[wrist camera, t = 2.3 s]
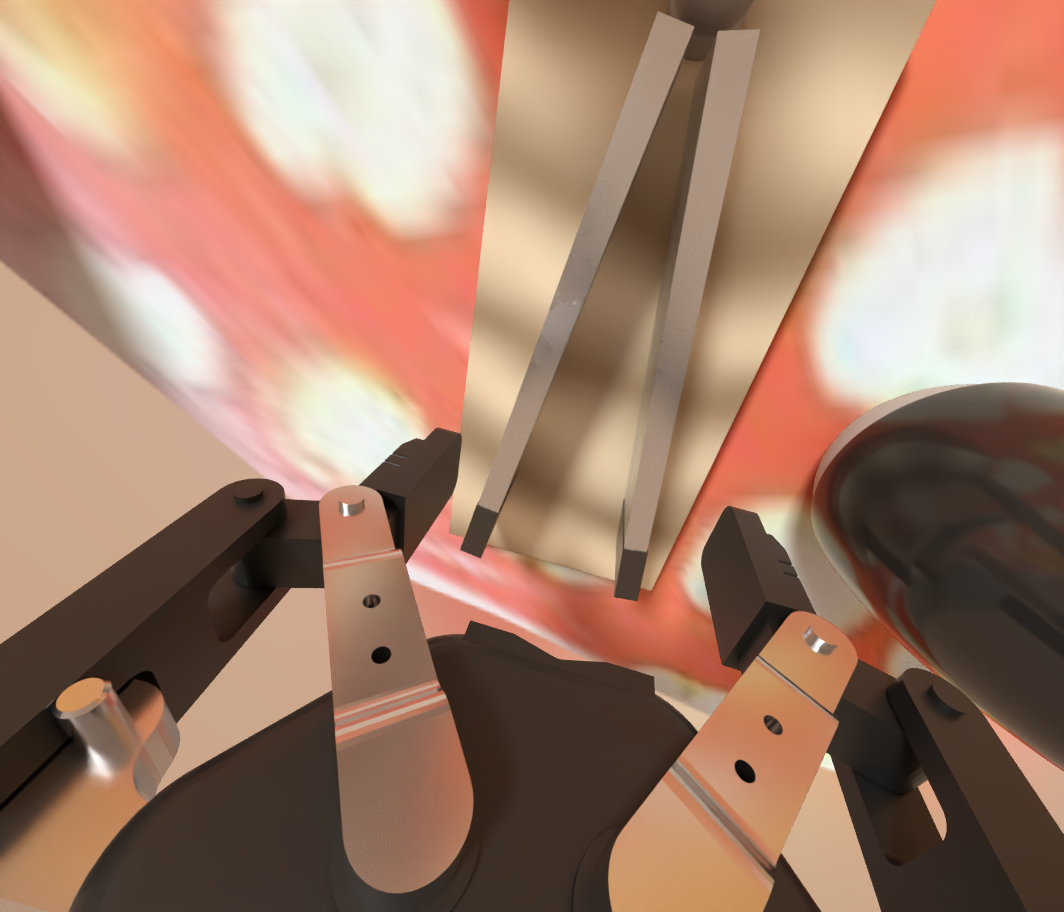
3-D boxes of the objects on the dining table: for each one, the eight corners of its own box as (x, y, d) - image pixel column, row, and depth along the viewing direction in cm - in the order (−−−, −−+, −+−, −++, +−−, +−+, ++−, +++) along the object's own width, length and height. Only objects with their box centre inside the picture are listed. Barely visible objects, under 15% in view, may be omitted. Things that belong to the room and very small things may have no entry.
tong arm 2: (694, 79, 14) (716, 30, 10) (728, 78, 14) (763, 28, 10) (616, 542, 24) (614, 597, 20) (635, 545, 24) (637, 601, 20)
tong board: (527, -50, 15) (475, -195, 10) (909, 16, 14) (1076, -109, 9) (457, 518, 28) (419, 584, 23) (649, 573, 27) (655, 654, 22)
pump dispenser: (1099, 449, 19) (2221, 981, 5) (870, 570, 24) (1170, 996, 11) (951, 299, 17) (2010, 543, 4) (740, 463, 22) (903, 806, 9)
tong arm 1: (649, 64, 14) (656, 9, 11) (679, 76, 14) (696, 26, 11) (484, 502, 24) (460, 549, 21) (502, 510, 24) (480, 558, 21)
